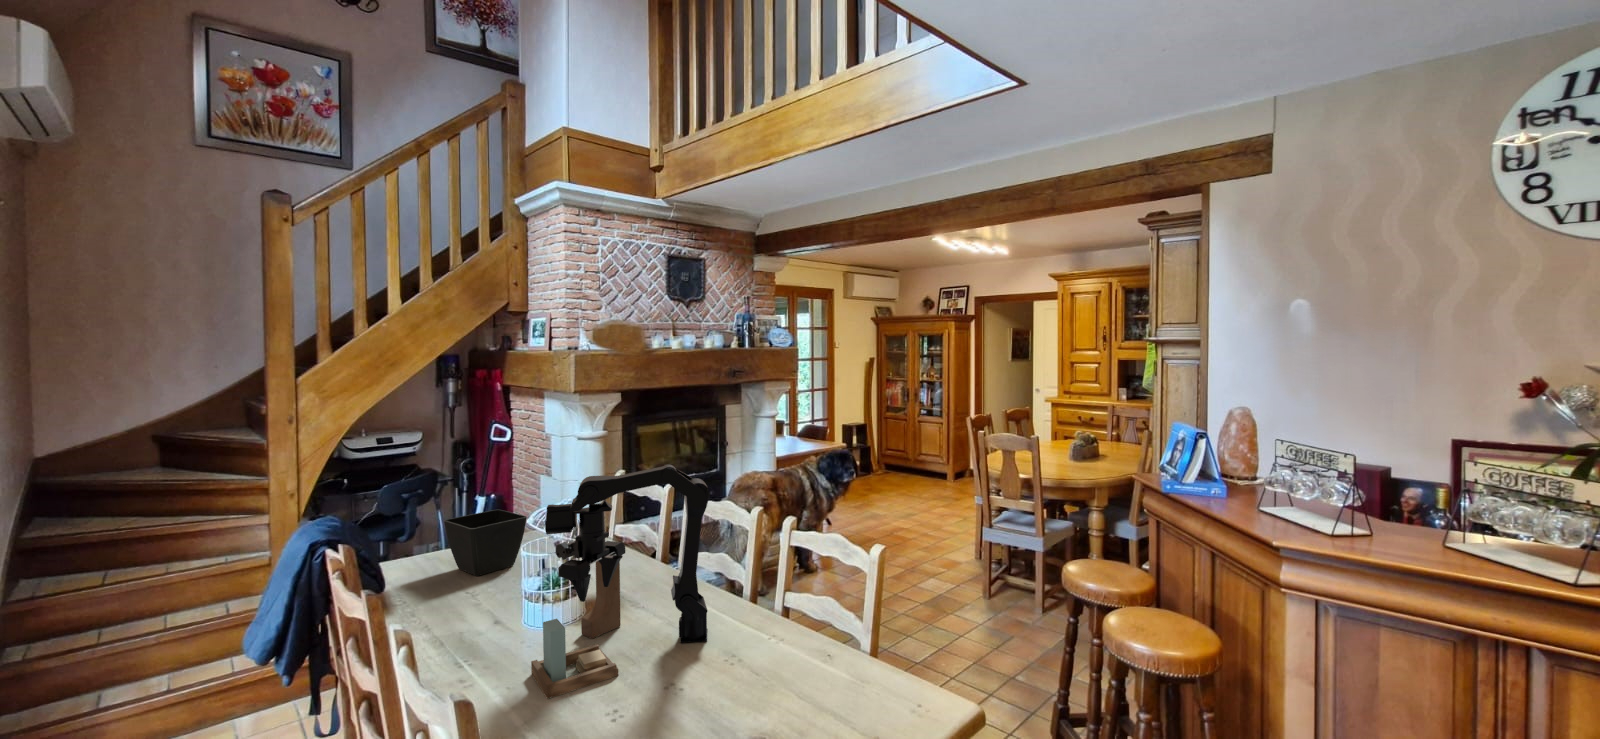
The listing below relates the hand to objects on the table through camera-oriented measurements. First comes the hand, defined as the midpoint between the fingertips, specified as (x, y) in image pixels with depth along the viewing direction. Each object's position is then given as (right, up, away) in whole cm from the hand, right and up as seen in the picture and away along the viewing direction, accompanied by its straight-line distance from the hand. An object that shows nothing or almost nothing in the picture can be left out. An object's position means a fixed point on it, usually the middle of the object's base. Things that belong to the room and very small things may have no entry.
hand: (594, 593), depth 149 cm
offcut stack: (+2, -14, -9) cm, 17 cm away
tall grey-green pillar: (-4, -14, -14) cm, 20 cm away
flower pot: (-55, -12, +58) cm, 81 cm away
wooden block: (-2, -14, +11) cm, 17 cm away
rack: (-1, -14, -11) cm, 18 cm away
